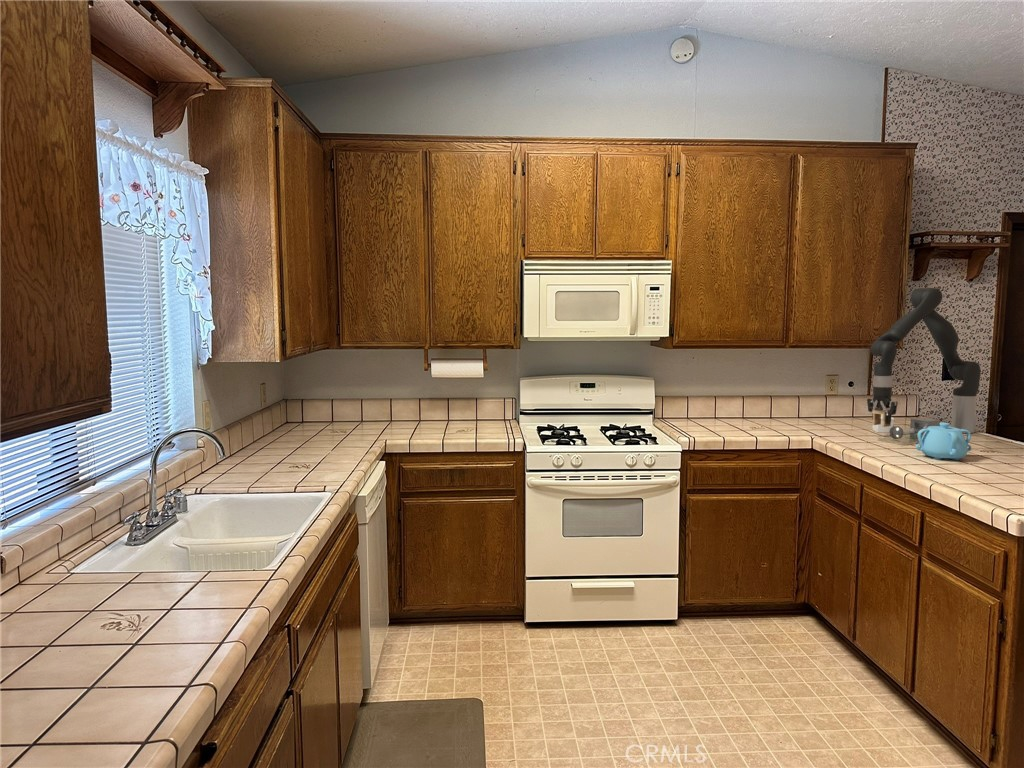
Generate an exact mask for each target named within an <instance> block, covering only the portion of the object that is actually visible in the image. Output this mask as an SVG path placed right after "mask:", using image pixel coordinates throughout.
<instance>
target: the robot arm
mask: <svg viewBox="0 0 1024 768" xmlns="http://www.w3.org/2000/svg"><path fill="white" fill-rule="evenodd" d="M942 300H943V293H942V291H941V289H939V288H936V287H920V288H916V289H914V290H913V291H912V292H911V293H910V303H911V305H912V306H913V307H912V308H914V309H912V310H911V311H910V312H907V313H906V314H905V315H903V316H902V317H900V318H899V319H897V320H896V322H894V323H893V324H892V326H891V327H890V328H889V329H888V331H886V332H885V333H883V334H882V335H880V336H879V337H877V339H876V340H874V341H873V342H872V344H871V346H870V352H871V354H872V355H873V356H874V357H881V359H880V361H878V362H875V363H874V365H873V378H872V379H873V381H872V395H873V397H870V398H867V399H866V403H867V411H868V412H869V413H871V415H872V417H871V418H872V419H871V420H872V421H873V410H879V409H880V408H883V410H884V411H885V412H886V421H885V423H886V424H890V423H891V417H892V416H893V415H897V409H898V403H899V402H898V401H897V400H896V401H894V400H892V395H893V365H894V363H895V359H896V356H897V353H898V349H897V346H896V344H898V343H900V342H902V341H903V340H904V339H905V337H906V336H907V335H908V334H909V333H910V332H911V331H912V329H914V327H916V326H917V324H919V323H920V322H921V321H923V323H924V324H925V326H926V328H927V329H928V331H929V333H930V336H931V337H932V339H933V341H934V343H935V344H936V347H938V349H939V352H940V353H941V355H942V358H943V359H944V362H945V366H946V369H947V370H948V373H949V375H950V376H951V377H952V379H953V380H957V381H962V385H961V386H958V387H955V388H953V389H952V404H951V420H950V422H951V423H950V427H954V428H958V429H960V430H961V429H965V430H967V431H969V432H970V434H973V433H976V430H977V398H978V396H977V394H978V391H979V389H980V381H981V373H982V370H981V365H980V364H979V363H978V362H977V361H972V360H970V361H969V360H962V359H961V357H960V355H959V353H958V351H957V350H958V345H959V341H960V339H959V335H958V333H957V331H956V329H955V327H954V326H953V324H952V323H951V322H950V321H949V320H948V319H946V318H945V317H944V316H942V315H941V314H940V313H938V311H937V310H936V309H937V308H938V307H939V306H940V305H941V303H942ZM888 412H889V413H888ZM962 433H963V434H967V433H966V432H962Z"/></svg>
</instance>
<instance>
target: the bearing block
mask: <svg viewBox="0 0 1024 768" xmlns="http://www.w3.org/2000/svg"><path fill="white" fill-rule="evenodd" d="M940 423H941V420H940V419H934V418H929V417H918V418H910V428H919V427H923V429H927V428H928V427H929V426H940ZM924 433H925V431H924V432H923V433H921V438H922V436H923V434H924ZM917 434H918V433H914V434H905V435H903V436H902V438H900V439H894V438H892V437H891V436H883V437H878V440H877V441H879V442H884V443H888V444H893V445H899V446H910V445H917V444H920V443H919V440H918V436H917Z"/></svg>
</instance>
